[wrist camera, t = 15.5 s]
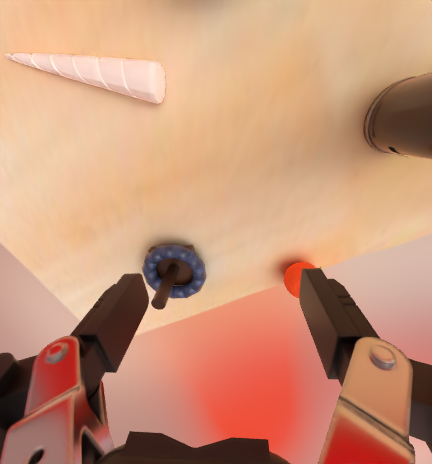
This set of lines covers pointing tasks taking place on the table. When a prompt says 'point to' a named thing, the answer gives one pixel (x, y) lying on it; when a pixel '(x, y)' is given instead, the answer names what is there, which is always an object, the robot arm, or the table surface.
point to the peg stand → (170, 278)
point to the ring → (182, 255)
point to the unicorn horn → (104, 72)
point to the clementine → (295, 277)
